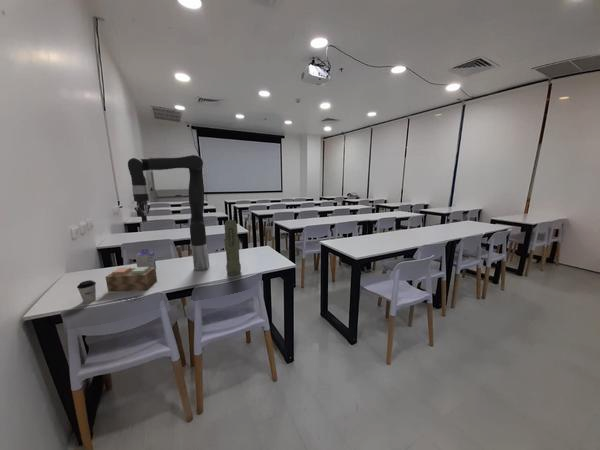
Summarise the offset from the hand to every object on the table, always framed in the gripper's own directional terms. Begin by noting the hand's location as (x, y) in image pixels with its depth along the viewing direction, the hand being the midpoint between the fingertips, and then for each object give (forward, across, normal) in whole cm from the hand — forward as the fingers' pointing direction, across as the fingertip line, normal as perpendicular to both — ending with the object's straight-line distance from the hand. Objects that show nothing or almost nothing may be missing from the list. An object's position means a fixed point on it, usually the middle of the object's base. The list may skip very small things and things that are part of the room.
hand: (144, 221), depth 139 cm
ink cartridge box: (+35, +8, +7) cm, 37 cm away
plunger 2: (+34, -16, -3) cm, 38 cm away
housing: (+35, -16, +2) cm, 39 cm away
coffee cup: (+35, -30, +15) cm, 49 cm away
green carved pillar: (+35, -4, -52) cm, 63 cm away
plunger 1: (+34, -16, +7) cm, 39 cm away
